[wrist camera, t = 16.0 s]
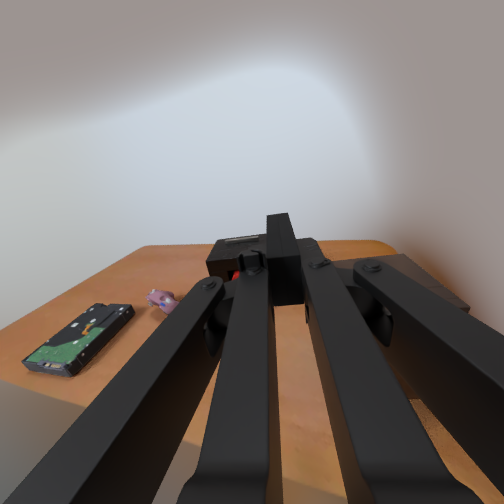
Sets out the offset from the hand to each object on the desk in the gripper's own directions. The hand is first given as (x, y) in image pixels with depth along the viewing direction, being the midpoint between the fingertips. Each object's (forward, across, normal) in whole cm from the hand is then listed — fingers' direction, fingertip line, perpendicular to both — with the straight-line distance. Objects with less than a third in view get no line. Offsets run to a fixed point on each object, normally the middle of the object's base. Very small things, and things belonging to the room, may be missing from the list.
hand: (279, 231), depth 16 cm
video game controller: (+19, -24, -22) cm, 38 cm away
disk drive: (+13, -39, -22) cm, 46 cm away
